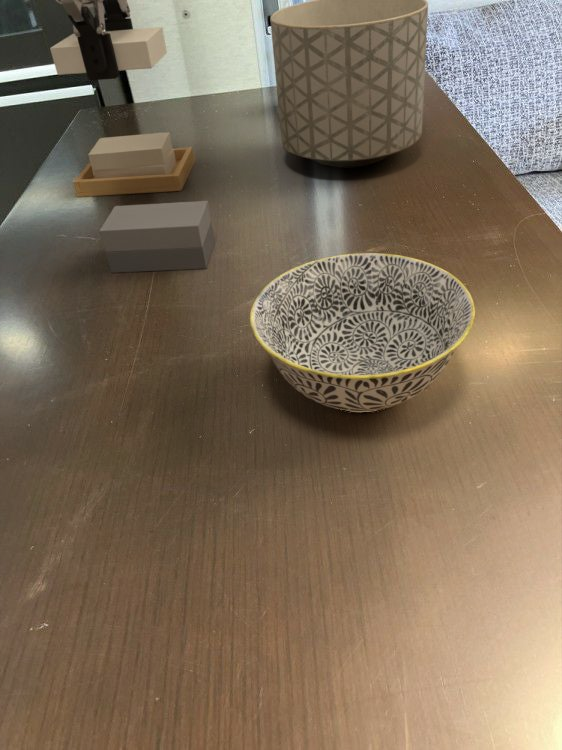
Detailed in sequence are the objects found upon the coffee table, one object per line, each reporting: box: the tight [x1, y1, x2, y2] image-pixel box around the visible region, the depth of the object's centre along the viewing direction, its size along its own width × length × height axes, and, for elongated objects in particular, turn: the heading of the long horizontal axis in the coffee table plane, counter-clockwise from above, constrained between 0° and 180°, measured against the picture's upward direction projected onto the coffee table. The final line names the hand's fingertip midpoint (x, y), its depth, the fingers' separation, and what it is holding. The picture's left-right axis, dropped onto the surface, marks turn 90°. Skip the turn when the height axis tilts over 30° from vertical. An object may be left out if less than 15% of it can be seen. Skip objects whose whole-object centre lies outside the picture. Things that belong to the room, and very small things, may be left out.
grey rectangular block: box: [98, 200, 216, 274], centre depth 67 cm, size 10×6×5 cm, turn 86°
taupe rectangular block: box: [87, 131, 176, 179], centre depth 86 cm, size 10×7×4 cm
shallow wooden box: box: [72, 146, 196, 198], centre depth 87 cm, size 15×11×2 cm
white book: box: [49, 26, 168, 76], centre depth 65 cm, size 10×6×2 cm, turn 85°
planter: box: [269, 0, 429, 169], centre depth 81 cm, size 19×19×18 cm
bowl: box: [249, 252, 476, 411], centre depth 47 cm, size 16×16×8 cm
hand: (114, 67), depth 66 cm, fingers closed on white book, 6 cm apart
